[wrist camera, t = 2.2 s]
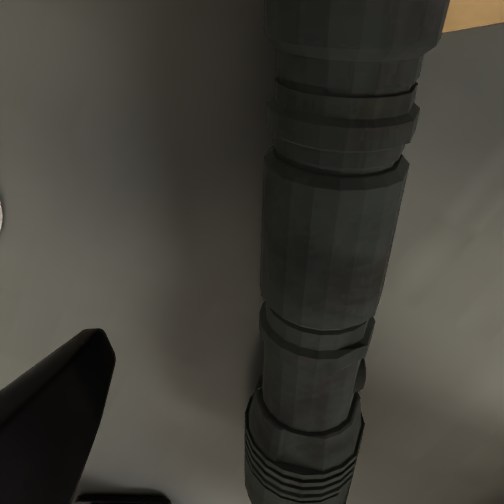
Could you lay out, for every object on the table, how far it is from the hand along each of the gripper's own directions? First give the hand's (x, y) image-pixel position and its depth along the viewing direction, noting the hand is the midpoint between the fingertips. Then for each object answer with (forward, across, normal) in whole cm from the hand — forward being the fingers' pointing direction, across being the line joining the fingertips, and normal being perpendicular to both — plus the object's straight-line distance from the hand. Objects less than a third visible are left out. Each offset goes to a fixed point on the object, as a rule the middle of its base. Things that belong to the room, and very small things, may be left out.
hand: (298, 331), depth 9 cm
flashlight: (+7, 0, +4) cm, 8 cm away
